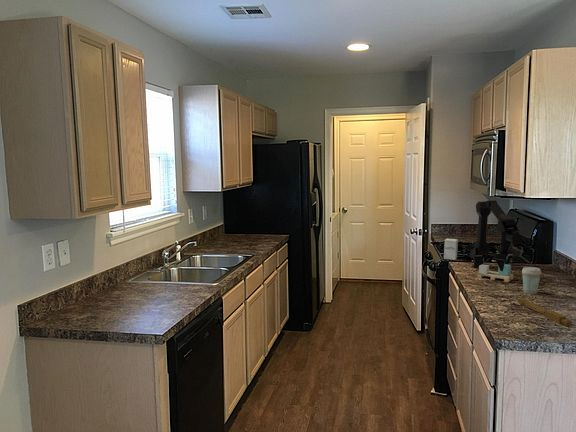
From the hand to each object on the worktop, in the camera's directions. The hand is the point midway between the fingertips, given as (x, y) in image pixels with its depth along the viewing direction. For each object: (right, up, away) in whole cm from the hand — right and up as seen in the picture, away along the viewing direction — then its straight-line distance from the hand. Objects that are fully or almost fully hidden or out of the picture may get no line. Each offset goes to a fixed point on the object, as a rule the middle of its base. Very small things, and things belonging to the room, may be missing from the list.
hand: (504, 269), depth 258 cm
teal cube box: (0, -3, 0) cm, 3 cm away
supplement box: (-12, +1, +51) cm, 52 cm away
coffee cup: (+1, -9, -26) cm, 27 cm away
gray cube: (-10, -2, +3) cm, 11 cm away
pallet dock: (-4, -5, +2) cm, 7 cm away
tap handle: (-10, -13, -57) cm, 59 cm away
